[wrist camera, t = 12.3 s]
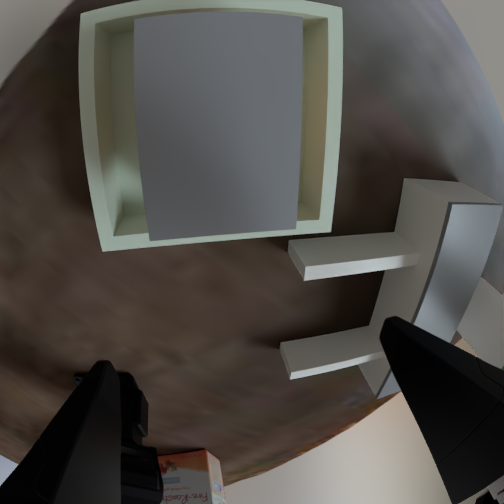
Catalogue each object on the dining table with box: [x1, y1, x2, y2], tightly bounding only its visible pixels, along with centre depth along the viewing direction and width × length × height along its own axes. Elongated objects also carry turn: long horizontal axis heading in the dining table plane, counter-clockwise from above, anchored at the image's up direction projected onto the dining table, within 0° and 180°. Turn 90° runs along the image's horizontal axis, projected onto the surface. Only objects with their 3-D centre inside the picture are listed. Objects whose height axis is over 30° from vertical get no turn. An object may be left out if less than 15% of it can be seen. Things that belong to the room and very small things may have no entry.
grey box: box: [134, 12, 303, 241], centre depth 12 cm, size 6×8×7 cm
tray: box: [79, 0, 343, 251], centre depth 14 cm, size 13×13×4 cm
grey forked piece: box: [280, 178, 503, 399], centre depth 22 cm, size 16×20×5 cm
